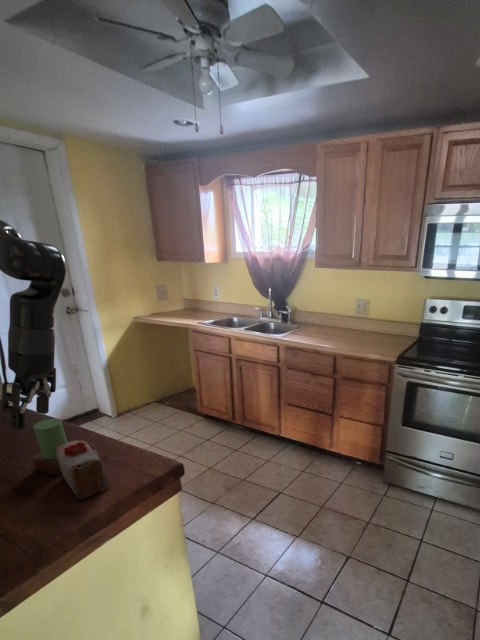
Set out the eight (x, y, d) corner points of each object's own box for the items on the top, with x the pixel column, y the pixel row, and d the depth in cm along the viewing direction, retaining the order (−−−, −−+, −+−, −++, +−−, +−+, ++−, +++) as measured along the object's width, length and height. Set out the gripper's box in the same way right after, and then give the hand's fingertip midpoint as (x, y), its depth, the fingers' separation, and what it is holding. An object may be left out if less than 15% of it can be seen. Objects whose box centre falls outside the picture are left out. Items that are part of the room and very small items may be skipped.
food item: (58, 475, 88) (48, 439, 84) (95, 463, 93) (86, 428, 89) (75, 503, 79) (64, 463, 75) (114, 487, 84) (106, 449, 80)
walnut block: (35, 470, 90) (31, 457, 88) (61, 455, 96) (57, 443, 94) (58, 475, 88) (54, 463, 86) (82, 460, 94) (79, 448, 92)
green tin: (41, 461, 87) (32, 431, 84) (43, 450, 91) (34, 421, 88) (69, 455, 89) (61, 425, 86) (69, 445, 94) (61, 416, 91)
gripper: (33, 336, 80) (31, 405, 85) (-15, 350, 66) (-13, 430, 71) (70, 344, 81) (66, 411, 86) (30, 359, 67) (29, 438, 72)
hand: (30, 420), depth 79 cm, fingers open, 8 cm apart
